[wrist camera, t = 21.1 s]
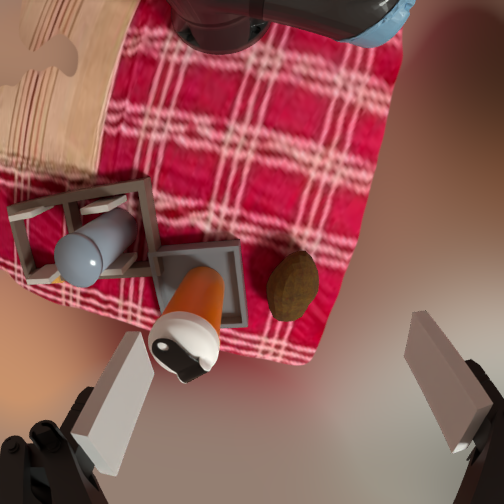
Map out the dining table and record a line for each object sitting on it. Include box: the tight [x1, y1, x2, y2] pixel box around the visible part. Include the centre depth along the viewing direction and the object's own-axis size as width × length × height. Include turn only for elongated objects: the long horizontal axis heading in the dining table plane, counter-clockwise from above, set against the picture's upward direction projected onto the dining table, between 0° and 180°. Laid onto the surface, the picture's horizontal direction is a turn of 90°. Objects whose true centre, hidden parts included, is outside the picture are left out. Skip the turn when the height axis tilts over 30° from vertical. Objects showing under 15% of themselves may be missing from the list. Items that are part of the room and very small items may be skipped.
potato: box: [267, 251, 319, 322], centre depth 50 cm, size 8×12×8 cm, turn 174°
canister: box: [54, 208, 137, 287], centre depth 44 cm, size 7×7×15 cm
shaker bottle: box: [148, 266, 225, 383], centre depth 44 cm, size 9×9×20 cm
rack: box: [7, 177, 164, 285], centre depth 48 cm, size 16×30×7 cm, turn 95°
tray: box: [148, 239, 248, 328], centre depth 53 cm, size 15×15×3 cm
